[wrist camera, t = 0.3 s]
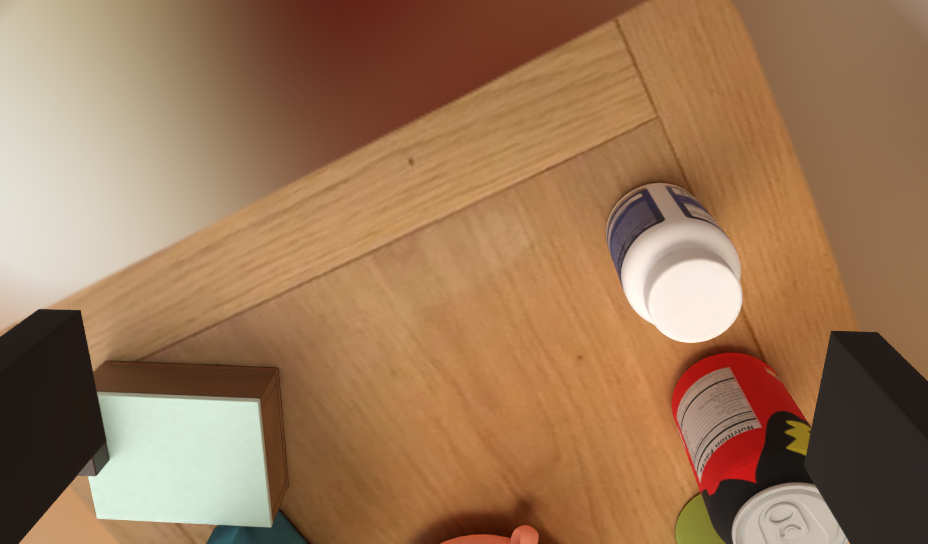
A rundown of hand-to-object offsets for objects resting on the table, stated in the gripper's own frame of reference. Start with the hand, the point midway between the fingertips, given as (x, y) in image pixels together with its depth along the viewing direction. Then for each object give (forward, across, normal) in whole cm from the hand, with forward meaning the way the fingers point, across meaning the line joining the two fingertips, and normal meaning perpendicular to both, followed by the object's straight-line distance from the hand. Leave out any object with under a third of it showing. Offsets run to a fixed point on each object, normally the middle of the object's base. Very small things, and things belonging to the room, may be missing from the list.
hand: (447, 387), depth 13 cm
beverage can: (+28, +14, -16) cm, 35 cm away
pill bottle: (+28, +9, -6) cm, 30 cm away
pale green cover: (+25, -18, -20) cm, 36 cm away
